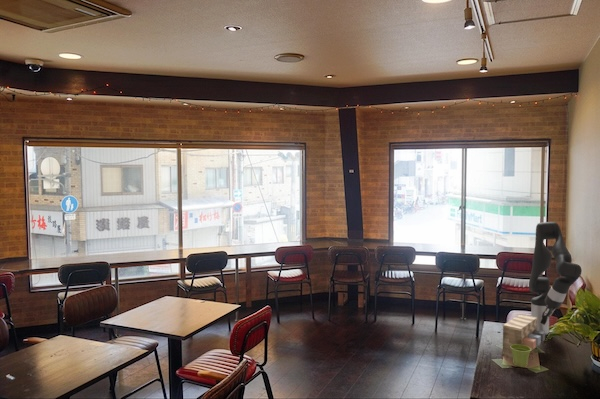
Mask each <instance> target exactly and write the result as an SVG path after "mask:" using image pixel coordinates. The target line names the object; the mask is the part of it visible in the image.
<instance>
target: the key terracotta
mask: <svg viewBox="0 0 600 399" xmlns="http://www.w3.org/2000/svg"><path fill="white" fill-rule="evenodd" d="M523 345H525V346H528V347H530V348H531V349H533V350H535V349H536V348H537V347H536V339H531V338H527V337H524V338H523Z"/></svg>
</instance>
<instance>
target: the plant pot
mask: <svg viewBox="0 0 600 399" xmlns="http://www.w3.org/2000/svg"><path fill="white" fill-rule="evenodd" d="M510 348H511V350H512V354H513V358H512V360H513V361H512V362H513V365H515V366H516V367H517V366H518V367H520V368H525V367H527V366H528V362H529V356H530V353H531V352H532V351H531V348H530V347H528V346H525V345H520V344H514V345H511V346H510ZM530 351H531V352H530Z"/></svg>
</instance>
